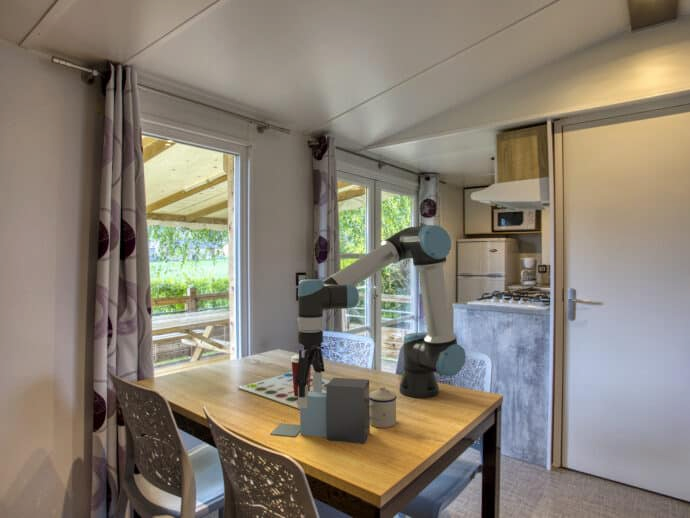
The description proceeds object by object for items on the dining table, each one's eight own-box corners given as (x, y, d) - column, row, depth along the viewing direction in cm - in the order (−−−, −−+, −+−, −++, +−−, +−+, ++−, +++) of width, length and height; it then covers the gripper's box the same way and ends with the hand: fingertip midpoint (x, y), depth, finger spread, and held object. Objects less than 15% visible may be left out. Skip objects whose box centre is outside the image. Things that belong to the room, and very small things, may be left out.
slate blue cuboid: (348, 433, 128) (348, 394, 127) (345, 439, 124) (344, 398, 124) (305, 429, 131) (304, 391, 131) (300, 434, 127) (299, 395, 127)
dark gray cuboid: (369, 432, 128) (369, 379, 128) (364, 444, 120) (363, 387, 120) (331, 428, 131) (330, 377, 131) (323, 439, 123) (323, 385, 123)
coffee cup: (309, 399, 158) (308, 359, 158) (288, 397, 160) (287, 358, 160) (315, 391, 166) (314, 354, 166) (295, 390, 168) (294, 353, 168)
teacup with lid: (382, 415, 142) (382, 380, 142) (402, 423, 135) (402, 387, 135) (356, 424, 134) (355, 388, 134) (375, 433, 127) (375, 395, 127)
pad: (304, 426, 133) (304, 425, 133) (295, 437, 125) (295, 436, 125) (280, 424, 135) (280, 423, 135) (270, 434, 127) (270, 433, 127)
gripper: (312, 323, 141) (312, 386, 141) (283, 337, 117) (283, 413, 117) (333, 324, 139) (333, 388, 139) (308, 338, 115) (308, 415, 115)
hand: (310, 399), depth 128 cm, fingers open, 13 cm apart
